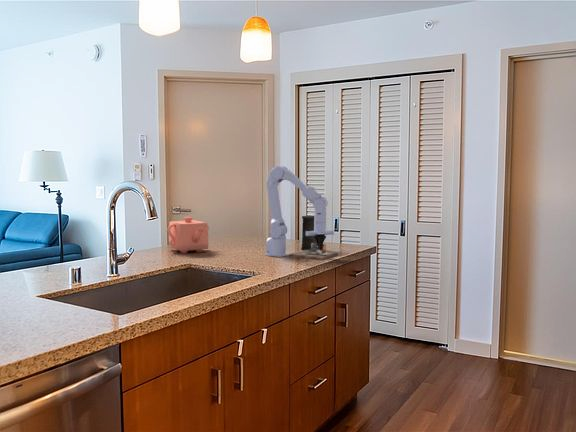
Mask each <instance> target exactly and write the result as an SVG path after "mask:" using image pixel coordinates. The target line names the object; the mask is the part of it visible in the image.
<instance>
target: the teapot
mask: <svg viewBox="0 0 576 432" xmlns="http://www.w3.org/2000/svg"><path fill="white" fill-rule="evenodd" d="M183 218H184V220H174V221H169V225H168V227H167V228H166V229H167V230H166V231H167V234H168V246H169V248H172V249H173V250H174V252H180V254H188V253H187V252H190V251H195V252H197V253H203V250H207V249H208V250H209V228H210V227H209V225H208V222H205V221H200V220H196V219H195V220H194V219H193V217H192V216H185V217H183Z"/></svg>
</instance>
